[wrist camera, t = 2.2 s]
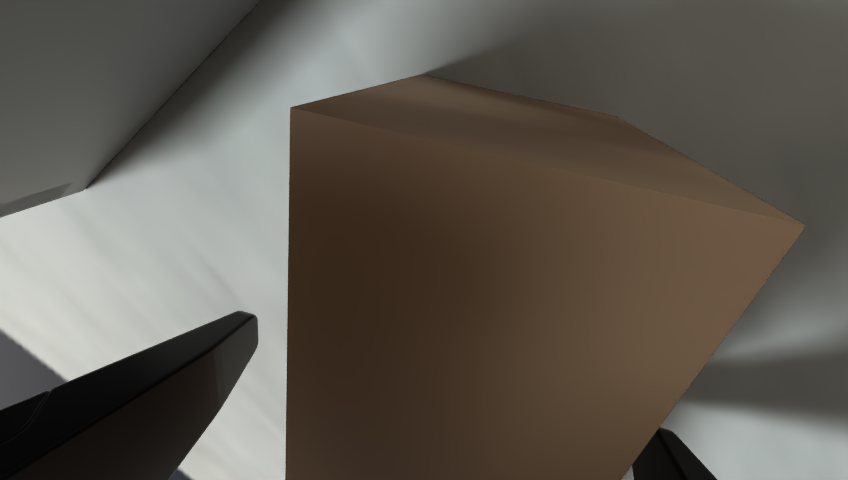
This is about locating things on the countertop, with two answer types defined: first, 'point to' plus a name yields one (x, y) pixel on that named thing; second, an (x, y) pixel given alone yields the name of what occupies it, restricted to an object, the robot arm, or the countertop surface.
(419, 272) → the strut
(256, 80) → the countertop surface
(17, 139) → the bin
